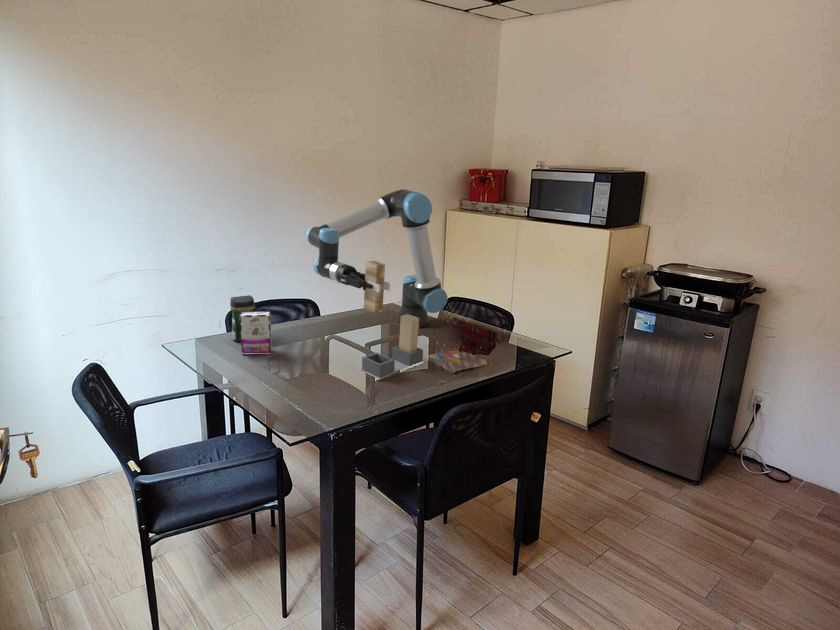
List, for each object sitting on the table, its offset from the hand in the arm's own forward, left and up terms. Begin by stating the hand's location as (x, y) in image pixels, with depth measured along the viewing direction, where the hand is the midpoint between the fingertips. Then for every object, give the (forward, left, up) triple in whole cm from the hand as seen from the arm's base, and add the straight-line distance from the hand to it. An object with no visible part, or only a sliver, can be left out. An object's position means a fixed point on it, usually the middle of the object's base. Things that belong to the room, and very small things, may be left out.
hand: (384, 287), depth 199 cm
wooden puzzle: (-30, +13, -34) cm, 47 cm away
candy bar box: (+25, -45, -33) cm, 61 cm away
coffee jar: (+21, -61, -33) cm, 72 cm away
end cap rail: (-6, 0, -33) cm, 33 cm away
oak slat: (0, -6, -10) cm, 11 cm away
